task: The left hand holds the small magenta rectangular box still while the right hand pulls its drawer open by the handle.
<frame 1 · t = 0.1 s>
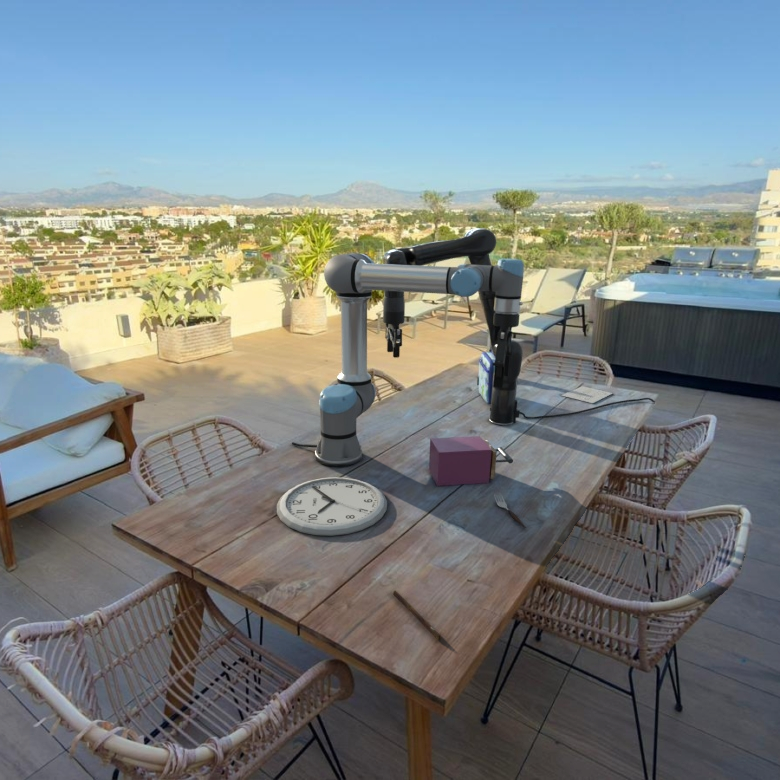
left hand: (501, 381, 162), 28 cm above the table, tool pointing down, fingers open, 13 cm apart
right hand: (393, 354, 187), 29 cm above the table, tool pointing down, fingers open, 8 cm apart
drawer: (475, 459, 160), point 5 cm above the table, slide at 0.7 cm
wall clock: (332, 505, 143), on the table
lunch box: (491, 399, 234), on the table
fork: (510, 514, 140), on the table
brown thin rod: (415, 616, 103), on the table
toy gun: (487, 375, 272), on the table
magenta rectangular box: (458, 476, 161), on the table
invitation card: (587, 395, 242), on the table
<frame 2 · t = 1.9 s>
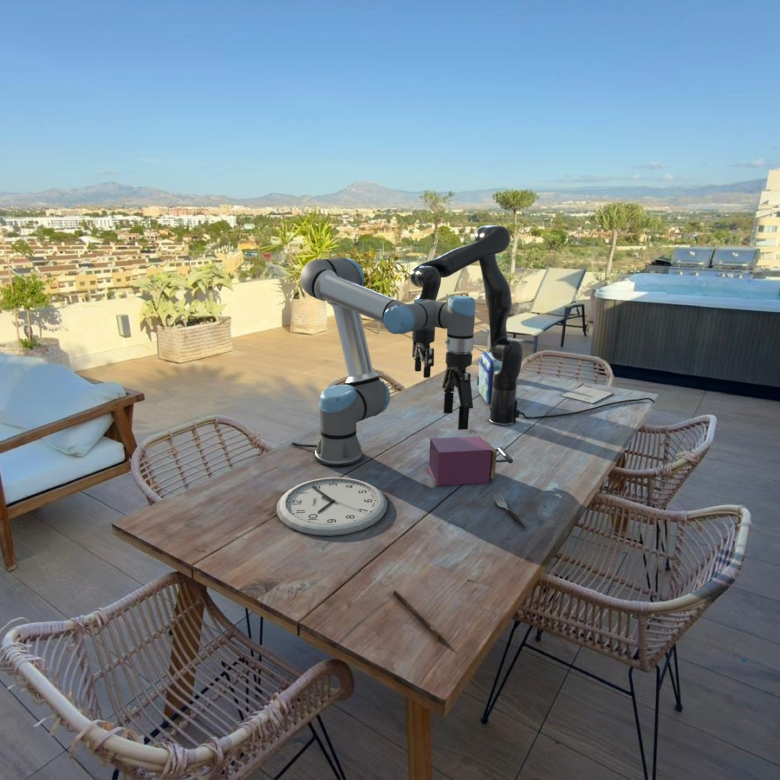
left hand: (455, 420, 156), 18 cm above the table, tool pointing down, fingers open, 13 cm apart
right hand: (422, 374, 179), 25 cm above the table, tool pointing down, fingers open, 8 cm apart
nothing on the table moved.
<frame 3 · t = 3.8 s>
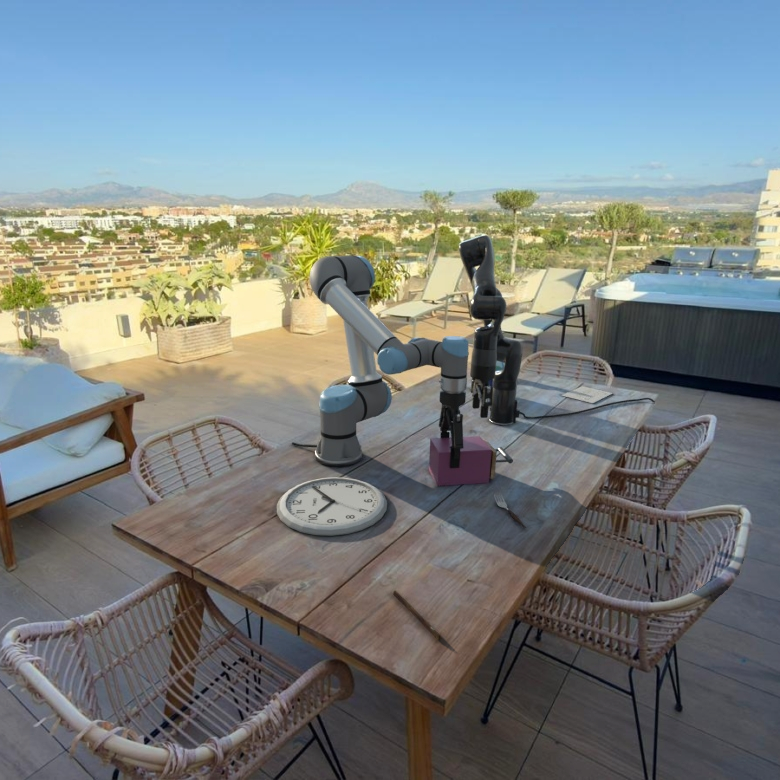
left hand: (449, 459, 158), 6 cm above the table, tool pointing down, fingers closed on magenta rectangular box, 11 cm apart
right hand: (479, 412, 163), 18 cm above the table, tool pointing down, fingers open, 8 cm apart
magenta rectangular box: (458, 476, 161), on the table, touching left hand
everything else where it was.
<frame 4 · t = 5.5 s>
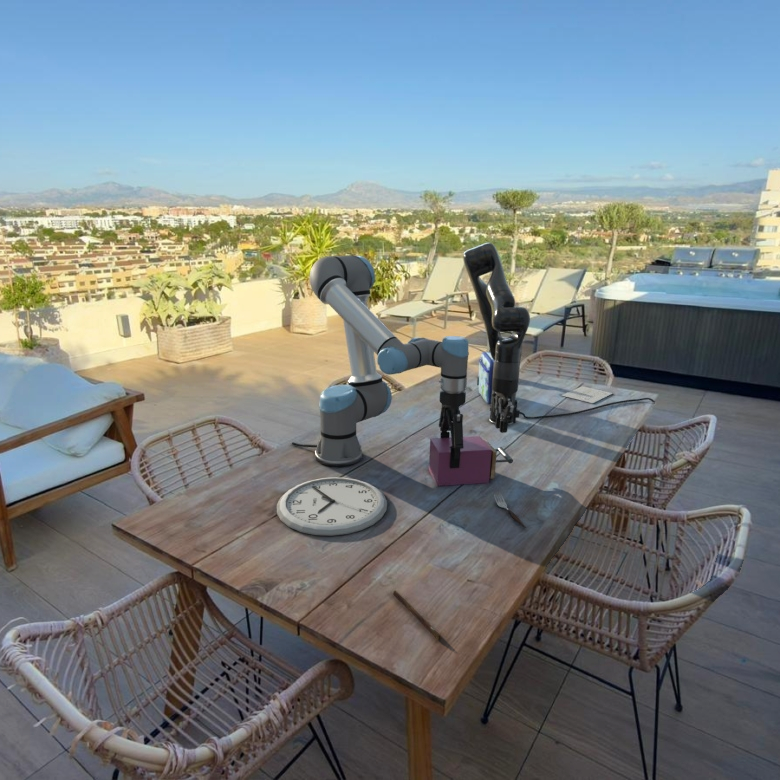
left hand: (449, 459, 158), 6 cm above the table, tool pointing down, fingers closed on magenta rectangular box, 11 cm apart
right hand: (501, 429, 158), 15 cm above the table, tool pointing down, fingers open, 3 cm apart
magenta rectangular box: (458, 476, 161), on the table, touching left hand
everything else where it was.
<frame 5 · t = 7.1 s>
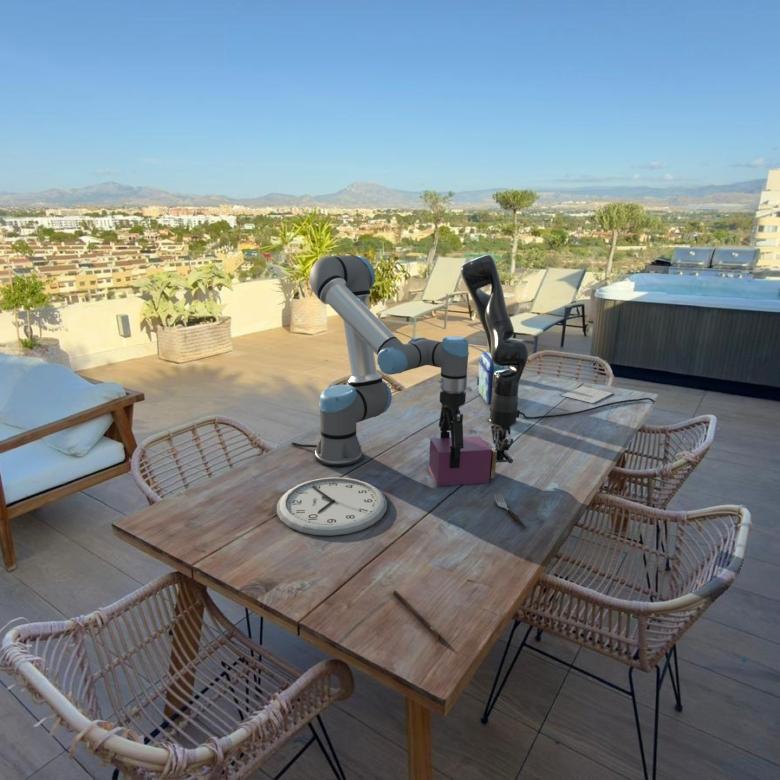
left hand: (449, 459, 158), 6 cm above the table, tool pointing down, fingers closed on magenta rectangular box, 11 cm apart
right hand: (499, 460, 161), 5 cm above the table, tool pointing down, fingers closed
drawer: (476, 459, 160), point 5 cm above the table, slide at 0.7 cm, touching right hand
magenta rectangular box: (458, 476, 161), on the table, touching left hand
everything else where it was.
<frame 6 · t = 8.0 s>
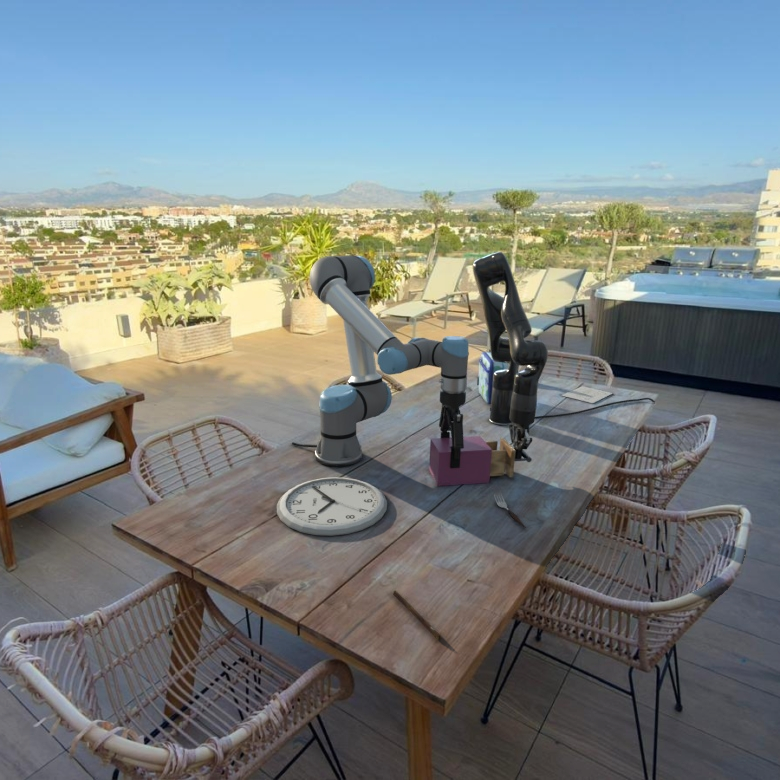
left hand: (449, 459, 158), 6 cm above the table, tool pointing down, fingers closed on magenta rectangular box, 11 cm apart
right hand: (517, 459, 162), 5 cm above the table, tool pointing down, fingers closed
drawer: (494, 458, 161), point 5 cm above the table, slide at 6.5 cm, touching right hand
magenta rectangular box: (458, 476, 161), on the table, touching left hand
everything else where it was.
when the left hand's fingers open (6 cm above the table, at t = 9.8 s): magenta rectangular box stays where it is, on the table.
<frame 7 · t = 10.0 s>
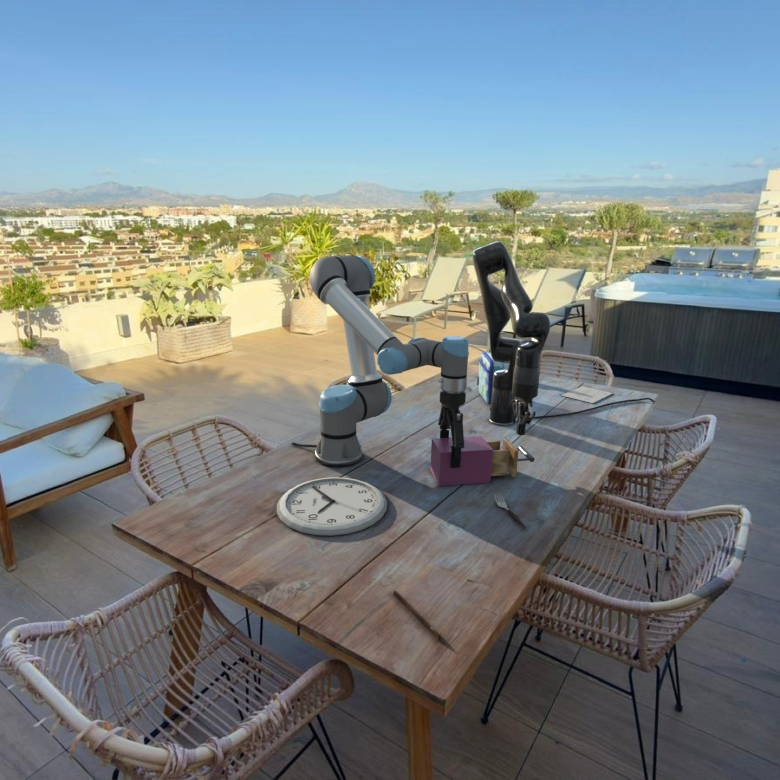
left hand: (449, 458, 158), 6 cm above the table, tool pointing down, fingers open, 12 cm apart
right hand: (520, 434, 160), 13 cm above the table, tool pointing down, fingers closed
drawer: (497, 458, 161), point 5 cm above the table, slide at 7.1 cm
magenta rectangular box: (459, 476, 161), on the table
everything else where it was.
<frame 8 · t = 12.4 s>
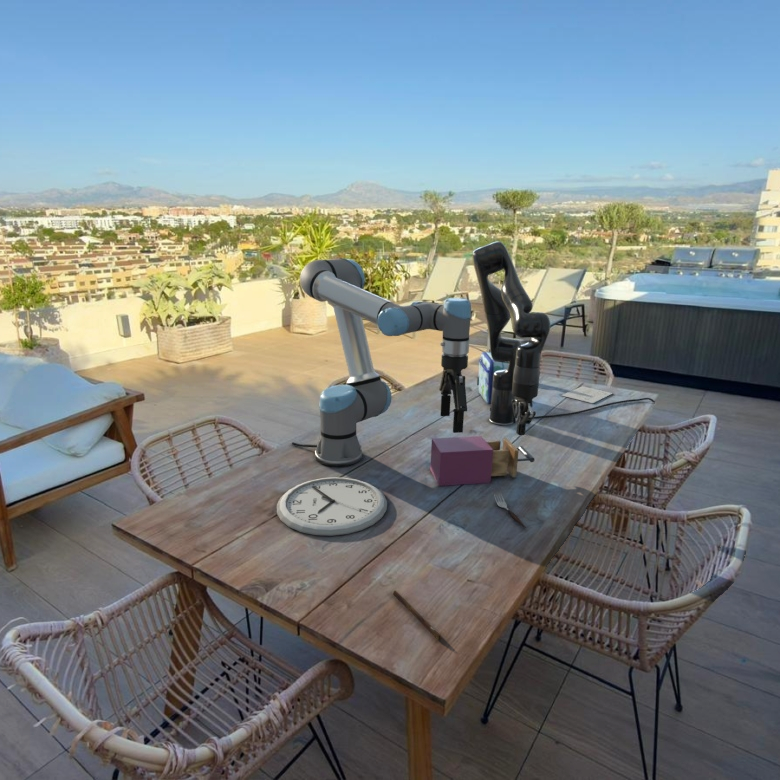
left hand: (451, 423, 155), 18 cm above the table, tool pointing down, fingers open, 13 cm apart
right hand: (520, 434, 160), 13 cm above the table, tool pointing down, fingers closed
nothing on the table moved.
at the end: drawer slide at 7.1 cm; magenta rectangular box tilted 0°; magenta rectangular box never tilted more than 2° during the clip; magenta rectangular box moved 0.5 cm from its start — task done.
